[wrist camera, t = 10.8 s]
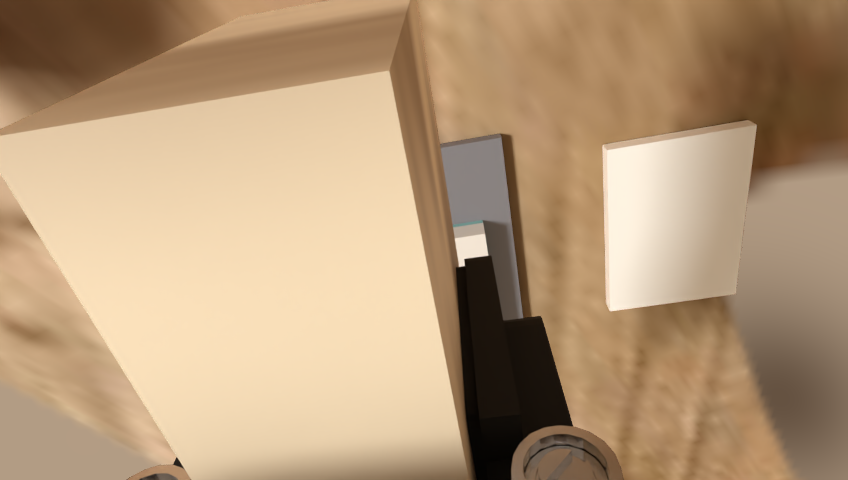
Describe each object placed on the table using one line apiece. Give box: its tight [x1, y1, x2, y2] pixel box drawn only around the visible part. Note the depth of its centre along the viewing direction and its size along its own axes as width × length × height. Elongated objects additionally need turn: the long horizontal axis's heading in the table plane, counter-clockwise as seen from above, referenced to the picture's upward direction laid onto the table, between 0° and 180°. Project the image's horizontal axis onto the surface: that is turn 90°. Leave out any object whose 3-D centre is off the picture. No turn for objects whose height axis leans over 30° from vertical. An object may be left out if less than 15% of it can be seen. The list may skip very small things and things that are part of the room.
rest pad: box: [603, 120, 757, 311], centre depth 28 cm, size 10×7×1 cm
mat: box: [440, 134, 523, 320], centre depth 29 cm, size 12×11×1 cm
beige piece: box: [0, 0, 477, 480], centre depth 10 cm, size 16×5×6 cm, turn 9°
